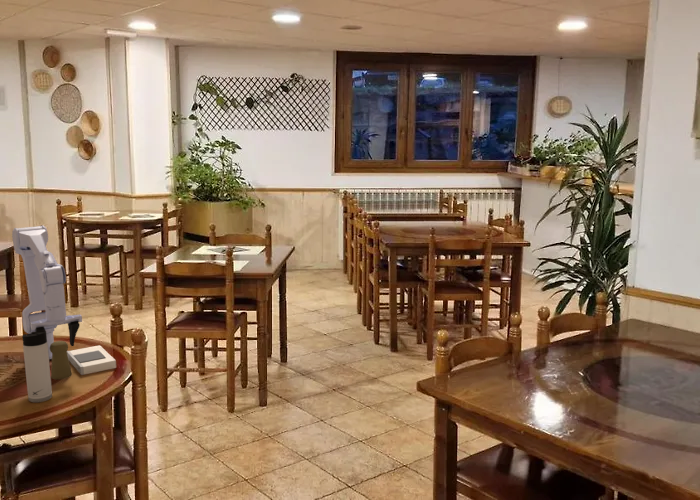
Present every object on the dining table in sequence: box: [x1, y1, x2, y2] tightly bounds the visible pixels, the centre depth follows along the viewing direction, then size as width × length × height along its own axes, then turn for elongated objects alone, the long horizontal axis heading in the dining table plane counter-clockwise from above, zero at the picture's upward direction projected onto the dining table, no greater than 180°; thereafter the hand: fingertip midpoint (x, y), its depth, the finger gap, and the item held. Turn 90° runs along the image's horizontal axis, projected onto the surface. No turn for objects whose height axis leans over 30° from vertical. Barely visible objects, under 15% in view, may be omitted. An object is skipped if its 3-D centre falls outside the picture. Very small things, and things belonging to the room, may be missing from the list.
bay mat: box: [74, 350, 106, 363], centre depth 223 cm, size 8×8×1 cm
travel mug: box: [22, 331, 53, 403], centre depth 195 cm, size 6×7×20 cm
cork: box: [50, 340, 73, 380], centre depth 213 cm, size 6×6×11 cm
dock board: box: [67, 345, 117, 376], centre depth 225 cm, size 18×11×3 cm, turn 35°
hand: (59, 347), depth 212 cm, fingers open, 7 cm apart
